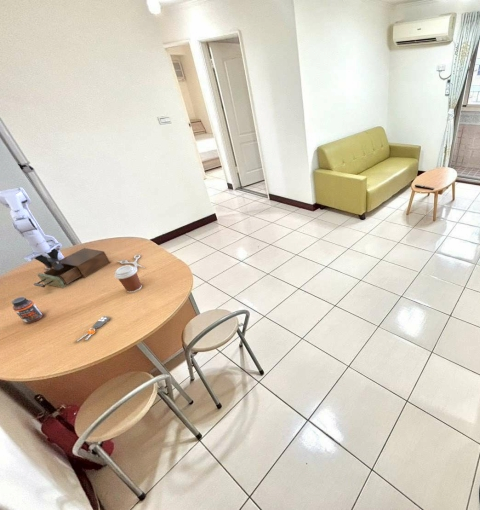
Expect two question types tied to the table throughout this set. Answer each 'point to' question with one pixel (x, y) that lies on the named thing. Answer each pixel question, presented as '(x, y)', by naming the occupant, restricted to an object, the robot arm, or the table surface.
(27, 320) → the supplement bottle
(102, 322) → the key chain
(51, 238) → the robot arm
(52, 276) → the drawer
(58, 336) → the table surface
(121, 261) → the scissors
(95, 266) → the cabinet
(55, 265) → the black block with tab
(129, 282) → the coffee cup
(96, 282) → the table surface
